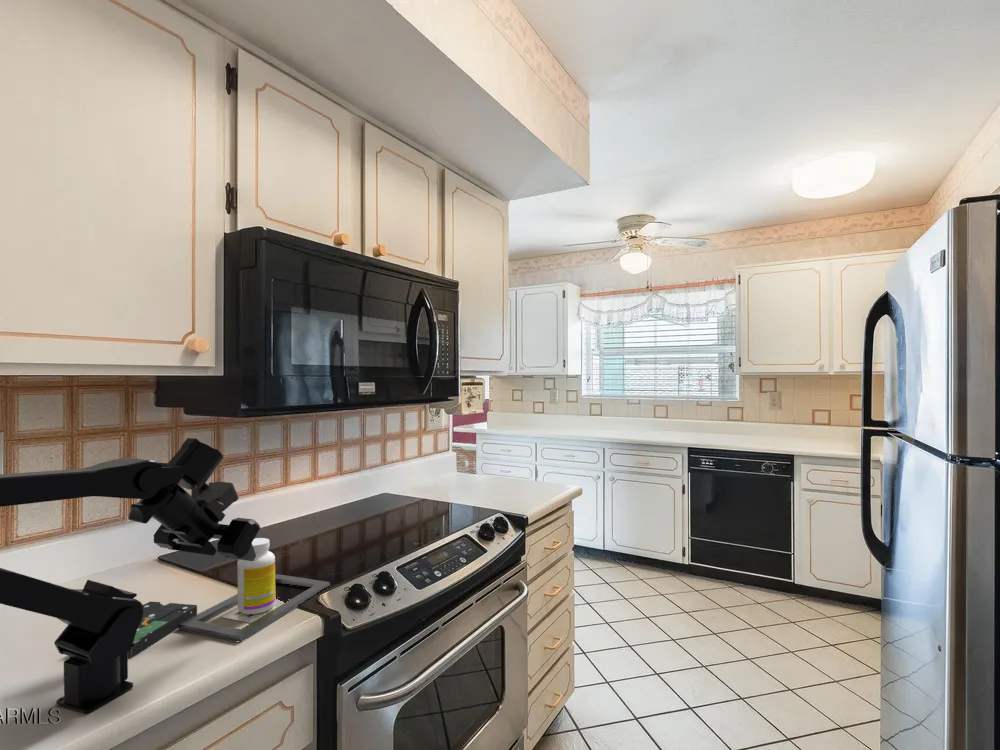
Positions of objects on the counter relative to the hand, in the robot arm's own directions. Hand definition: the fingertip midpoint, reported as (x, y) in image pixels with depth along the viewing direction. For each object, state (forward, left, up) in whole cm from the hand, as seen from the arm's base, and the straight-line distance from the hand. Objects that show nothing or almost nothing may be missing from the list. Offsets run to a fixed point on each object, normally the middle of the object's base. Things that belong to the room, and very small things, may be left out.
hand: (234, 555), depth 96 cm
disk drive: (-9, +12, -13) cm, 20 cm away
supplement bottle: (+5, 0, -12) cm, 13 cm away
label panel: (+6, 0, -12) cm, 14 cm away
